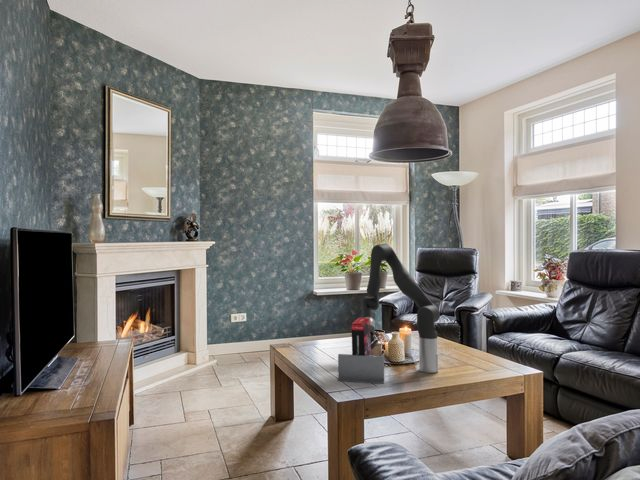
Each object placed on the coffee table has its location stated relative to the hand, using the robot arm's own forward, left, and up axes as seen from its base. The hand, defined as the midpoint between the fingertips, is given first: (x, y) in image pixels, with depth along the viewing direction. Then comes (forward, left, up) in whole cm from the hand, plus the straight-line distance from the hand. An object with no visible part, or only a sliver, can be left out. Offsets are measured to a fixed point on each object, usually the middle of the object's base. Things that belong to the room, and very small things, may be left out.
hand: (365, 355), depth 244 cm
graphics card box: (+1, +10, -7) cm, 12 cm away
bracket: (0, +15, -7) cm, 17 cm away
